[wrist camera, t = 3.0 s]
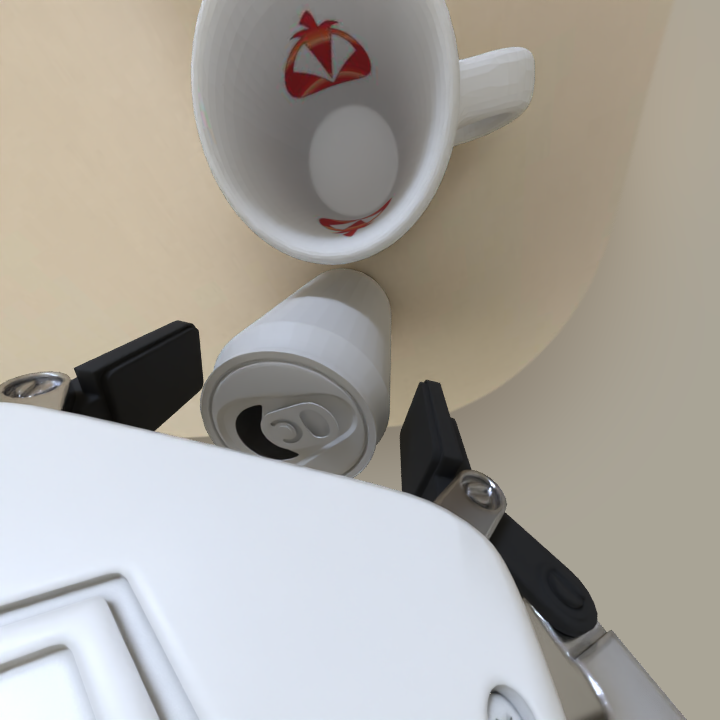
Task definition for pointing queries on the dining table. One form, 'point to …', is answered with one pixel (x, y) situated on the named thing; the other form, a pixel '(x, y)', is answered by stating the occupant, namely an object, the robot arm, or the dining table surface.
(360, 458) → the beverage can
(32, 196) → the dining table surface
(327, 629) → the robot arm
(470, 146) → the dining table surface
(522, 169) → the dining table surface
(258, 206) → the cup
